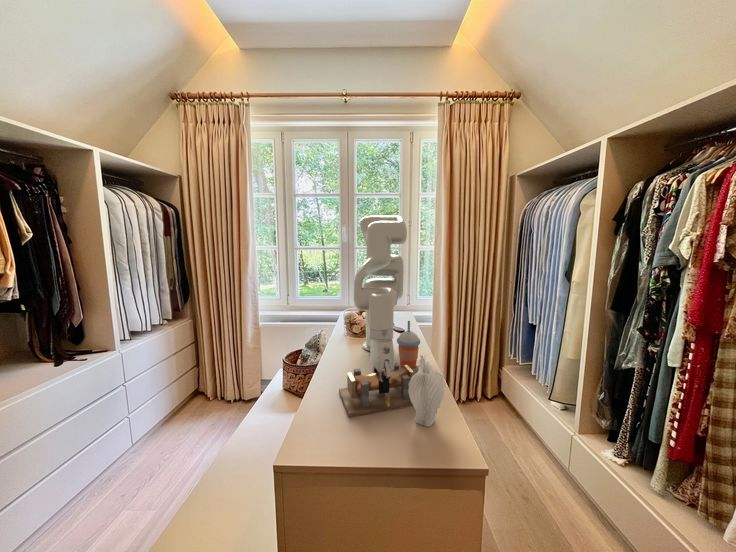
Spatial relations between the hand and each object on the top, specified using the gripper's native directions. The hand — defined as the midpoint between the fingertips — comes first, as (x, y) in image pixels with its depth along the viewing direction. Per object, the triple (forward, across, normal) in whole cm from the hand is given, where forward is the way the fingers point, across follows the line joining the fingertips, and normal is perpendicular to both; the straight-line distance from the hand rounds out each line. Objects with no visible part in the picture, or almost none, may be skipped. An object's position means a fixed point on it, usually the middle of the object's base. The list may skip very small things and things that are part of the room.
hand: (380, 387), depth 93 cm
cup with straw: (+4, +19, -18) cm, 26 cm away
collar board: (+4, 0, 0) cm, 4 cm away
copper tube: (0, 0, 0) cm, 0 cm away
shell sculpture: (+4, -15, -8) cm, 17 cm away
